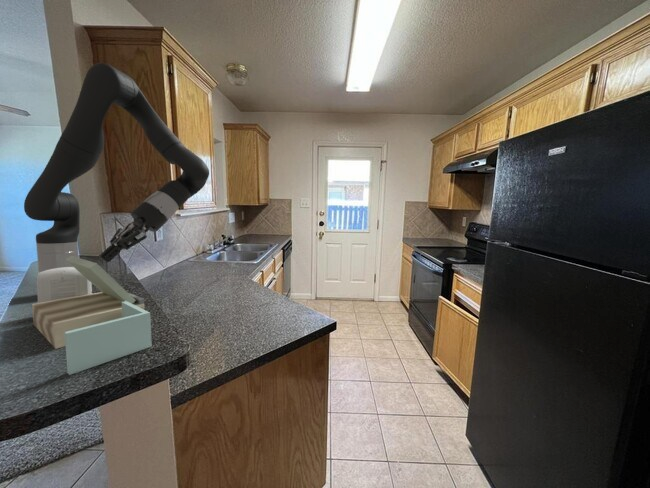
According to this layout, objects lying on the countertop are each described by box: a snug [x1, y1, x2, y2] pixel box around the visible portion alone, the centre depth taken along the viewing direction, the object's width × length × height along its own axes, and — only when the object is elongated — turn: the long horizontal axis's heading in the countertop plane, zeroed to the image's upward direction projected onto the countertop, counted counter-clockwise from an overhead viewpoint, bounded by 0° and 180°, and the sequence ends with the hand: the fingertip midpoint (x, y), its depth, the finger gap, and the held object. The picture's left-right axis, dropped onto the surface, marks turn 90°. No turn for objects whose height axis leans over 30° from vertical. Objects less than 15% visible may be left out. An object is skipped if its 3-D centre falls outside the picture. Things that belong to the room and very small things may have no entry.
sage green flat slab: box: [66, 256, 136, 304], centre depth 63 cm, size 18×12×2 cm
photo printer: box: [36, 267, 93, 303], centre depth 68 cm, size 10×4×12 cm, turn 123°
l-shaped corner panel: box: [65, 301, 153, 376], centre depth 50 cm, size 12×12×8 cm
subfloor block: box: [31, 291, 146, 350], centre depth 62 cm, size 20×15×6 cm
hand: (103, 259), depth 63 cm, fingers closed
